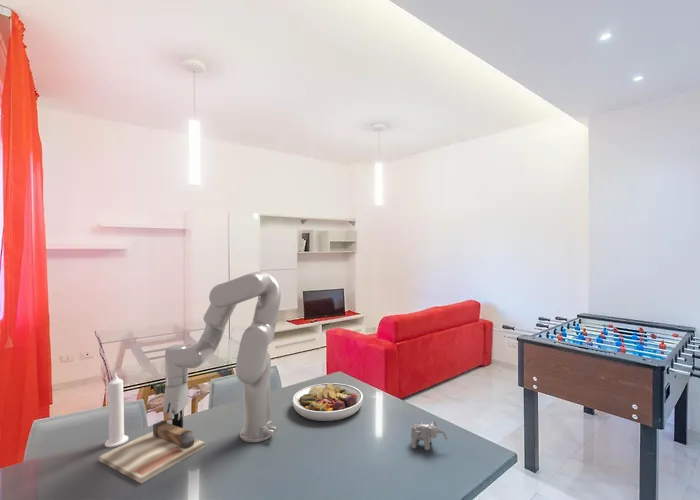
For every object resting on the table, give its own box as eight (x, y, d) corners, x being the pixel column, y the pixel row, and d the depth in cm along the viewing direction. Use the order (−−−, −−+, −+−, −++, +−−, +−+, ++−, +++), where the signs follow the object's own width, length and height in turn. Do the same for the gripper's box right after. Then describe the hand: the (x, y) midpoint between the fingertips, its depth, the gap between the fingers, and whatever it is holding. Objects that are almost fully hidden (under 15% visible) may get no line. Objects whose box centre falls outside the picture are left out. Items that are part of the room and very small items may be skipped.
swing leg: (197, 442, 123) (196, 431, 123) (185, 449, 119) (185, 437, 119) (164, 430, 132) (163, 419, 132) (152, 435, 128) (152, 424, 128)
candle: (116, 448, 123) (115, 376, 123) (99, 446, 125) (98, 375, 125) (133, 437, 130) (131, 369, 130) (116, 436, 131) (115, 368, 131)
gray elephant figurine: (409, 439, 127) (408, 417, 127) (443, 437, 126) (442, 416, 126) (413, 454, 117) (411, 431, 117) (449, 452, 117) (448, 429, 117)
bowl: (278, 412, 149) (277, 394, 149) (323, 388, 174) (322, 372, 174) (334, 432, 132) (334, 411, 132) (376, 403, 157) (375, 385, 157)
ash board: (205, 446, 123) (205, 442, 123) (141, 483, 104) (141, 478, 104) (163, 430, 135) (163, 426, 135) (99, 460, 116) (99, 456, 116)
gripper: (176, 372, 139) (177, 419, 139) (155, 387, 124) (156, 439, 124) (195, 372, 139) (196, 419, 139) (177, 387, 124) (178, 439, 124)
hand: (177, 428), depth 131 cm, fingers closed
